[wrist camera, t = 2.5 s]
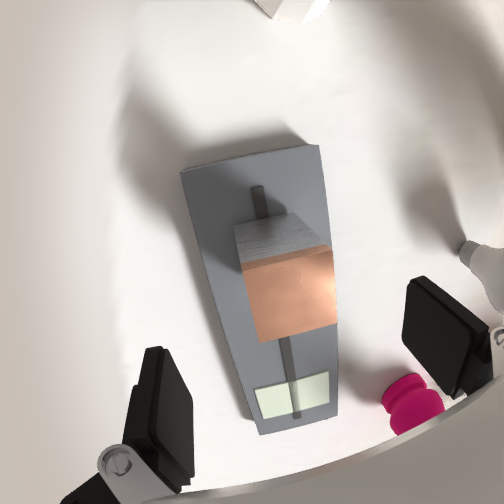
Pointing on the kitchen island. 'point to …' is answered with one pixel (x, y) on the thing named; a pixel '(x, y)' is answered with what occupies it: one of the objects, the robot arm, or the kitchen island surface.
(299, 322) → the fader knob
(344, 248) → the kitchen island surface
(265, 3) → the pepper shaker
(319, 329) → the fader panel
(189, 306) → the kitchen island surface
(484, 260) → the lightbulb
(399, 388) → the pepper mill
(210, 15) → the kitchen island surface
